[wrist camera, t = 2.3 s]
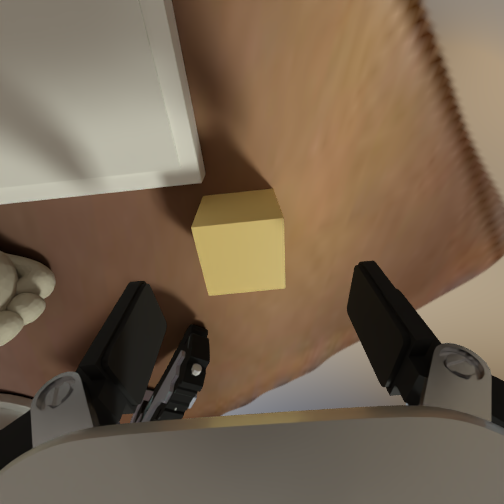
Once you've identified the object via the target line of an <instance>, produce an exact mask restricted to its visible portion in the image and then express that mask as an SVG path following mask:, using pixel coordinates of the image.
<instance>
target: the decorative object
mask: <svg viewBox="0 0 504 504" xmlns="http://www.w3.org/2000/svg"><path fill="white" fill-rule="evenodd" d="M54 286H55V277H54V274H53V273H52V271H51V270H50V269H49V268H48V267H46V266H45V265H43V264H41V263H40V262H37V261H34V260H31V259H29V258H25V257H21V256H16V255H12V254H7V253H3V252H2V251H0V346H2V345H4V344H6V343H7V342H9V341H10V340H11V339H13V338H14V337H15V336H16V335H17V334H18V333H19V332H20V331H21V329H22V327H23V325H26V324H28V323H31V322H33V321H34V320H35V319H37V318H38V317H39V316H40V315H41V314H42V312H43V311H44V309H45V306H46V304H45V301H44V298H46V297H47V296H49V295H50V294H51V293H52V291H53V289H54Z"/></svg>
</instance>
